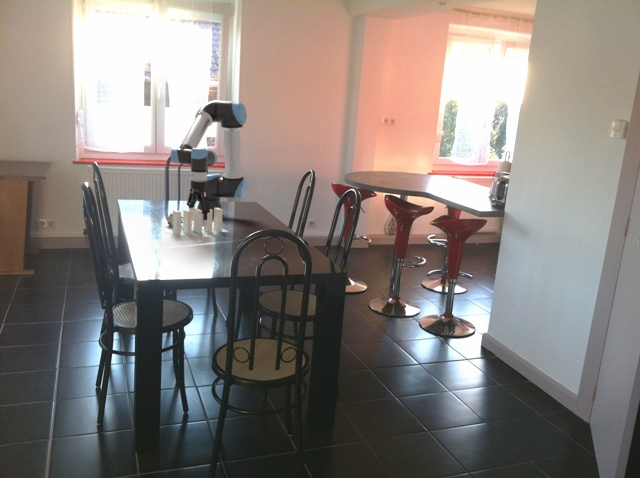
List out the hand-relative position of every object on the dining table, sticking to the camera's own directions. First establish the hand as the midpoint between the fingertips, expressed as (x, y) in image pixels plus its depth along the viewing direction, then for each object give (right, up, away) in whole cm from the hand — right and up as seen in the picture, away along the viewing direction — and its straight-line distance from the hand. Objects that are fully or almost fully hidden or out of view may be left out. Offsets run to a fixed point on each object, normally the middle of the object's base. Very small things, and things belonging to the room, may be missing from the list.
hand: (197, 223), depth 289 cm
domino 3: (0, -4, +1) cm, 4 cm away
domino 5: (+8, -3, +8) cm, 12 cm away
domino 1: (-9, -5, -6) cm, 12 cm away
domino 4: (+4, -4, +4) cm, 7 cm away
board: (0, -5, +1) cm, 5 cm away
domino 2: (-5, -5, -2) cm, 7 cm away
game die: (-14, -2, +10) cm, 18 cm away
